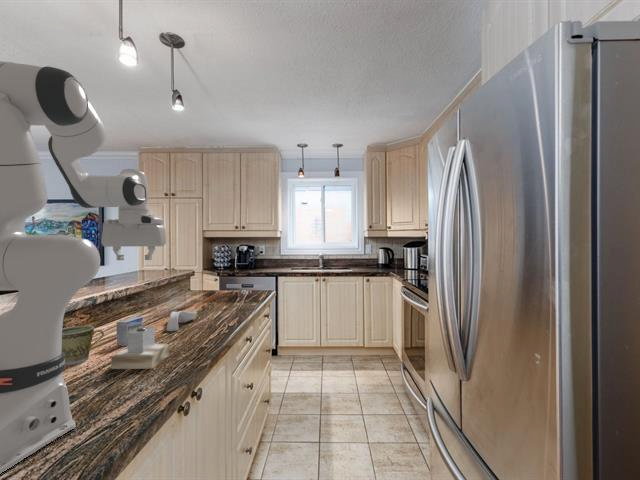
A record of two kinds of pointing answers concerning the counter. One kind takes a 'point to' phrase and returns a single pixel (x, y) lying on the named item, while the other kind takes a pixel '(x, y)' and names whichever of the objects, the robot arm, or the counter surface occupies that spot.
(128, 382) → the counter surface
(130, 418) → the counter surface
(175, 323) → the spoon rest
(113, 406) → the counter surface
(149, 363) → the stand
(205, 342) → the counter surface
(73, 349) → the ceramic cup
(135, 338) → the block
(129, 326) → the medicine box
